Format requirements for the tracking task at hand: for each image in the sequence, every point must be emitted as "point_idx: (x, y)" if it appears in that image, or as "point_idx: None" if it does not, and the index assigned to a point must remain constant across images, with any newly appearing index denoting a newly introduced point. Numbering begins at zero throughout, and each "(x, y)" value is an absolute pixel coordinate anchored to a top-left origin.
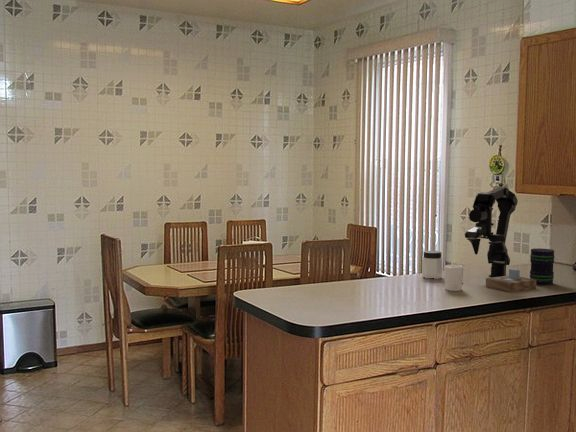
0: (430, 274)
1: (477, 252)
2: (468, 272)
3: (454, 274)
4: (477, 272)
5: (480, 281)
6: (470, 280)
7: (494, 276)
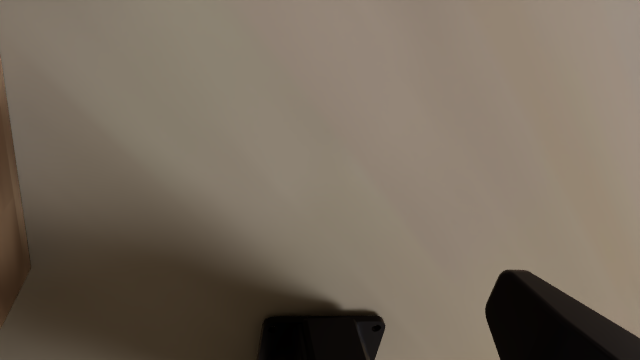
0: None
1: (505, 349)
2: None
3: None
4: None
5: (283, 81)
6: (393, 36)
7: (310, 318)
